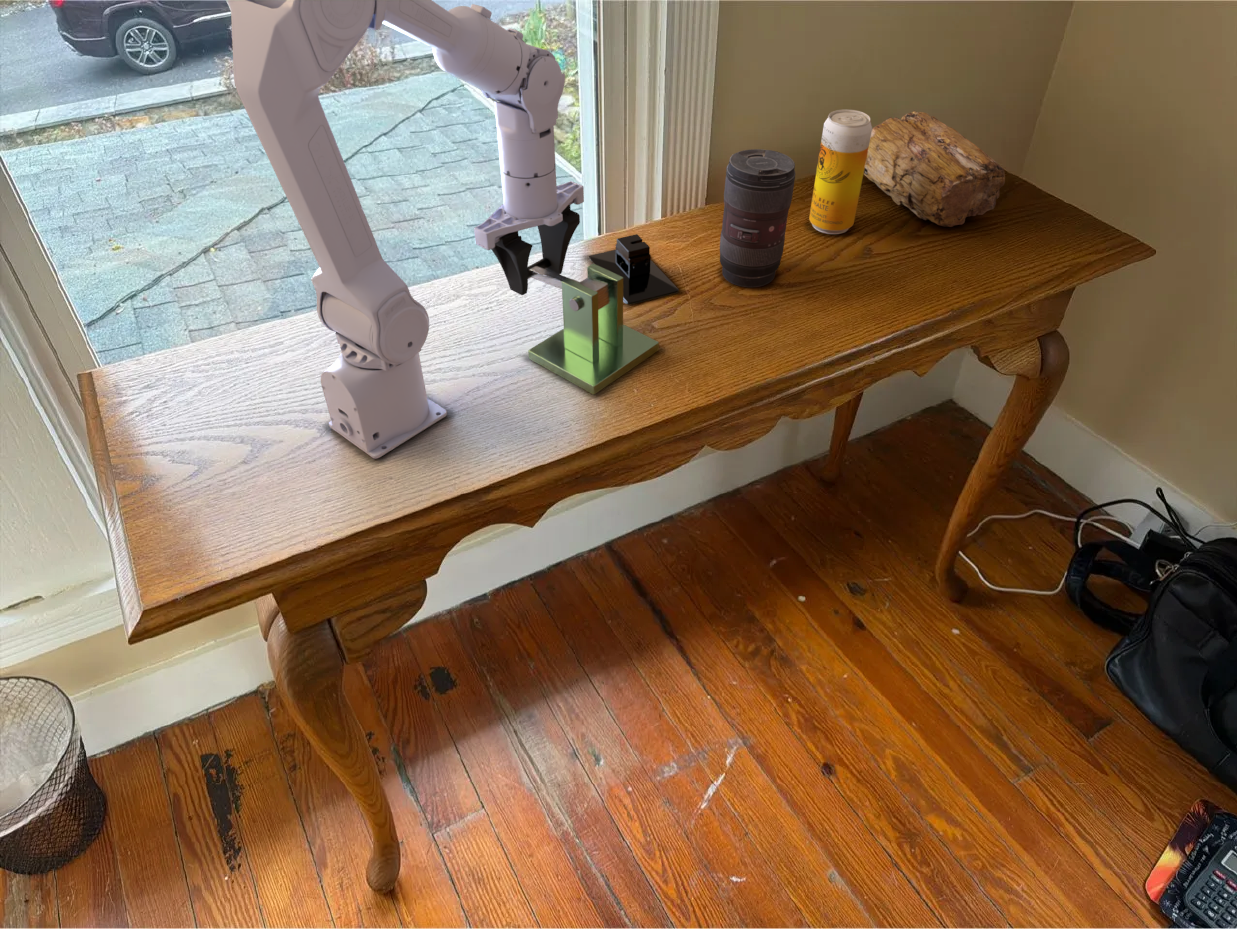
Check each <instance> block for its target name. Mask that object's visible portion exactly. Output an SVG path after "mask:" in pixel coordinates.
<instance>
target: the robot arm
mask: <svg viewBox="0 0 1237 929" xmlns="http://www.w3.org/2000/svg"><path fill="white" fill-rule="evenodd" d="M225 1H226V3H227V6H228V7H229V10H230V17H231V18H230V19H231V40H232V42H231V44H232V63H233V64H232V66H233V80H234V86H235V89H236V92H237V94H238V97H239V99H240V102H241V103H242V105H243V107H244V110H245V112H246V114H247V116H248V118H249V120H250V122H251V124H252V126H253V128H254V131H255V132H256V136H257V137H258V140H259V142H260V144H261V146H262V148H263V150H264V152H265V154H266V156H267V159H268V161H269V163H270V165H271V166H272V169H273V171H274V173H275V175H276V177H277V180H278V182H279V184H280V187H281V188H282V190H283V193H284V195H285V197H286V199H287V201H288V203H289V206H290V207H291V210H292V212H293V214H294V216H295V218H296V220H297V222H298V225H299V227H300V229H301V231H302V233H303V235H304V237H305V239H306V242H307V244H308V245H309V248H310V250H311V252H312V254H313V256H314V258H315V261H316V262H317V265H318V268H317V269H316V271H315V272H314V273H313V275H312V276H311V279H310V281H311V284H312V286H313V287H314V290H315V294H316V313H317V314H316V315H317V317H318V319H319V321H320V323H321V324H322V326H324V327H325V328H326V329H328V330H329V331H332V332H334V333H335V337H336V341H337V342H336V343H337V344H338V345H339V348H340V354H339V356H338V357H337V358H336V360H335V361H334V362H333V363H332V364H331V365H330V366H329V367H328V368H326V369H325V370H324V371H323V372H322V373H321V375H320V385H321V389H322V392H323V396H324V400H325V403H326V407H327V410H328V414H329V417H330V420H329V421H328V427H329V428H330V429H332V430H333V431H335V432H336V433H337V434H339V435H340V436H341V437H343V438H345V439H346V440H347V441H349V443H351V444H353V445H354V446H355V447H357V448H358V449H359V450H361V451H362V452H364V453H365V454H367V455H368V456H370V457H371V458H372V459H380V458H381V457H382V456H384V455H386V454H388V453H389V452H390V451H392V450H394V449H396V448H397V447H399V446H400V445H402V444H404V443H406V442H407V441H408V440H410V439H411V438H413V437H415V436H416V435H418V434H420V433H421V432H423V431H424V430H426V429H427V428H429V427H431V426H432V425H434V424H435V423H437V422H439V421H440V420H442V419H444V418H445V417H447V416H448V411H447V409H446V408H444V407H442V405H439V404H438V403H436V402H435V401H433V400H431V399H430V398H429V397H428V395H427V389H426V384H425V379H424V373H423V368H422V362H421V357H420V352H421V351H422V348H423V346H424V345H425V343H426V340H427V338H428V335H429V331H430V316H429V314H428V312H427V309H426V308H425V306H424V305H422V303H420V302H419V301H417V300H416V299H415V298H414V297H413V296H412V294H411V291H410V288H409V286H408V284H406V282H405V281H404V280H403V279H402V278H401V276H399V275H398V273H396V271H395V270H394V269H393V268H392V267H391V266H390V265H389V264H388V263H387V262H386V261H385V259H384V258H383V257H382V254H381V251H380V249H379V246H378V243H377V242H376V239H375V237H374V236H375V235H374V233H373V231H372V229H371V226H370V224H369V221H368V218H367V216H366V213H365V210H364V208H363V205H362V203H361V201H360V198H359V196H358V194H357V193H358V192H357V191H356V189H355V186H354V184H353V181H352V178H351V176H350V174H349V171H348V168H347V166H346V162H345V160H344V158H343V156H342V153H341V150H340V148H339V146H338V143H337V141H336V139H335V136H334V133H333V130H332V128H331V125H330V123H329V121H328V118H327V115H326V113H325V111H324V109H323V105H322V103H321V101H320V98H319V94H320V91H321V89H322V87H324V86H326V85H327V84H328V83H329V81H331V80H332V78H333V76H334V75H335V74H336V72H338V70H339V69H340V67H341V66H342V64H343V63H344V62H345V60H347V58H348V57H349V55H351V53H352V51H353V50H354V49H355V47H356V46H357V45H358V43H359V42H360V41H361V40H362V38H363V37H364V35H365V33H366V32H367V30H371V31H379V30H380V29H381V28H382V26H383V25H385V26H386V27H389V28H391V29H393V30H395V31H397V32H399V33H400V34H403V35H405V36H407V37H409V38H411V39H414V40H416V41H417V42H420V43H421V44H423V45H426V46H428V47H429V48H431V49H432V55H433V58H434V60H435V62H436V65H438V67H439V69H441V70H442V71H443V72H445V73H447V74H448V75H451V76H453V77H454V78H457V79H459V80H461V81H463V82H465V83H467V84H469V85H471V86H473V87H475V88H477V89H478V90H480V92H481V94H482V95H483V96H484V97H485V98H486V99H493V100H494V101H493V103H494V114H495V125H496V136H497V146H498V158H499V168H500V181H501V190H502V191H501V192H502V202H503V203H502V204H501V205H499V207H498V208H497V209H496V210H495V211H494V212H493V213H492V214H491V215H489V217H487V218H486V220H484V221H483V222H482V223H480V224H479V225H476V226H475V227H474V228H473V231H474V241H475V245H476V246H479V247H480V248H482V249H484V250H487V251H492V253H493V254H494V256H495V257H496V259H497V261H498V262H499V264H500V266H501V268H502V272H503V273H504V275H505V278H506V280H507V283H508V286H509V290H510V291H513V293H514V292H515V293H516V294H519V295H520V296H524V295H526V294H527V293H528V288H529V279H528V272H527V269H528V266H529V260H530V255H531V252H532V248H533V246H534V245H533V244H531V243H529V242H527V241H525V240H523V239H522V235H519V231H524V230H527V229H532V228H536V227H537V229H538V234H539V238H540V244H541V255H542V259H543V258H547V259H548V260H549V261H550V267H549V268H547V269H546V270H548V271H551V272H554V273H557V274H559V275H562V273H563V268H564V265H565V260H566V256H567V252H568V248H569V245H570V243H571V240H572V238H573V235H574V233H575V231H576V230H577V228H578V226H579V225H580V223H581V216H580V213H578V211H577V212H576V211H573V210H571V208H572V207H571V205H573V204H574V205H577V206H579V205H580V204H583V203H585V190H584V188H585V186H584V185H582V184H580V183H577V182H574V181H572V180H569V181H567V182H564V183H562V184H558V185H557V166H556V148H555V147H556V146H555V144H556V143H555V126H556V125H557V119H559V103H560V100H561V98H562V95H563V91H564V87H565V84H566V83H565V82H566V74H565V73H563V72H562V68H561V66H560V64H559V62H558V61H557V60H556V59H557V58H556V57H555V56H554V54H553V53H552V52H551V51H550V50H548V49H545V48H541V47H537V46H535V45H531V44H527V43H526V42H525V41H524V40H523V39H524V34H523V33H522V32H521V31H519V30H518V29H514V28H510V27H509V28H507V29H506V28H504V27H502V26H501V25H499V24H498V23H496V22H495V21H493V20H491V17H492V15H493V13H492V11H490V10H489V9H487V8H486V7H484V6H482V5H478V4H475V3H472V4H471V5H470V6H467V5H459V6H455V7H452V8H450V9H449V10H447V9H445V8H444V7H442V6H441V5H439V4H438V3H436V2H435V1H434V0H225Z"/></svg>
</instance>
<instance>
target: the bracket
mask: <svg viewBox="0 0 1237 929" xmlns="http://www.w3.org/2000/svg"><path fill="white" fill-rule="evenodd" d="M586 270H587V272H586V274H587V275H586V276H587V278H588V277H592V278H594V279H597V280H600V281H603V282H605V283H608V288H609V300H610V303H609V304H607V305H606V306H604V307H602V308H601V309H599V310H598V292H596V291H594V290H592V289H590V288H588V287H586V286H584V285H581V284H579V283H577V282H575V281H573V280H574V279H573V280H571V279H572V278H570V277H568V278H567V279H565V280H563V281H562V289H561V298H562V299H561V301H562V320H563V321H562V323H563V328H562V329H561V330H559V331H558V332H555V333H554V334H552V335H551V336H549V337H547V338H546V339H544V340H542V341H541V342H539V343H538V344H536V345H535V346H534V345H533V347H531V348H530V349H528V350H527V354H528V356H527V357H528V359H529V360H530V361H531V362H534V363H536V364H537V365H539V366H541V367H543V368H545V369H546V370H548V371H550V372H552V373H553V374H555V375H557V376H559V377H561V378H562V379H564V380H566V381H568V382H569V383H570V384H573V385H575V386H576V387H578V388H580V389H582V390H584V391H586V392H588V393H589V394H591V395H593V396H595V395H597V393H599V392H601V391H602V390H603V389H605V388H606V387H608V386H609V385H611V384H612V383H613V382H615V381H616V380H618V379H619V378H621V377H622V376H624V375H625V374H627V373H628V372H629V371H631V370H632V369H634V368H635V367H637V366H639V365H640V364H641V363H643V362H644V361H645V360H647V359H648V358H650V357H651V356H653V355H654V354H656V353H657V352H658V351H659V349H660V342H659V341H658V340H656V339H654V338H652V337H650V336H649V335H646V334H644V333H642V332H640V331H638V330H636V329H633V328H632V327H629V326H627V325H626V324H624V302H623V277H621V276H619V275H617V274H615V273H613V272H611V271H608V270H606V269H604V268H602V267H600V266H598V265H595V264H593V263H592V264H589V265H588V266H587V267H586ZM569 278H570V279H569Z"/></svg>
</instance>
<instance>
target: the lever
mask: <svg viewBox="0 0 1237 929" xmlns="http://www.w3.org/2000/svg"><path fill="white" fill-rule="evenodd" d="M549 267H550V261H549V260H548V259H547V258H543V257H542V258H541V259H539V260H538V261H535V262H534V263H532V264H530V265H528V269H527V272H528V280H529V279H533V280H536V281H539V282H542V283H544V284H547V285H550V286H552V287H555V288H557V289H560V290H562V281H563V280H565V279H567V278H569V279H571V280H573V281H575V282H577V283H579V284H581V285H584V286H586V287H588V288H590V289H592V290H594V291H596V292H598V310H599V309H601V308H602V307H604V306H606V305H607V304H609V303H610V300H609V288H608V283H605V282H603V281H600V280H597V279H594V278H592V277H588V276H587V277H586V278H585V279H583V280H581V281H578V280H576V279H573V278H570V277H568V276H565V275H562V274H560V275H559V274H557V273H554V272H551V271H548V270H546V269H547V268H549Z"/></svg>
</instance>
